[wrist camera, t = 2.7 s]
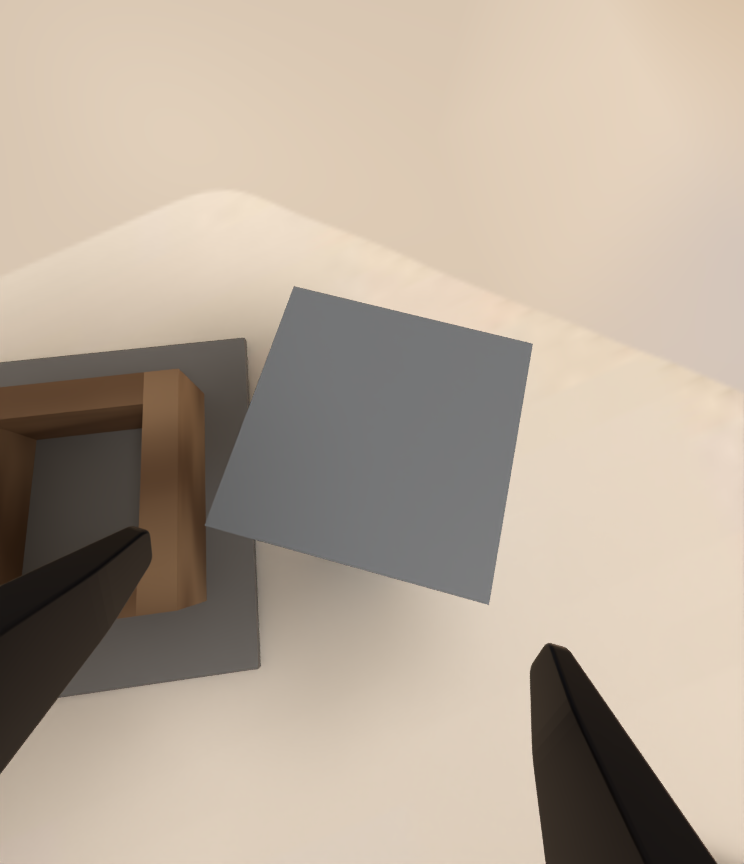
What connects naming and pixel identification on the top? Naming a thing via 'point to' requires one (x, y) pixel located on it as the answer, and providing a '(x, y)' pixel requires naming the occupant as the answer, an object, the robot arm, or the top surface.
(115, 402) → the brown square open frame
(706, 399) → the top surface
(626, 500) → the top surface
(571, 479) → the top surface
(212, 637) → the mat
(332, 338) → the tin
